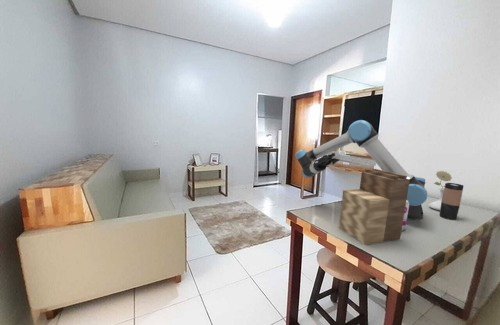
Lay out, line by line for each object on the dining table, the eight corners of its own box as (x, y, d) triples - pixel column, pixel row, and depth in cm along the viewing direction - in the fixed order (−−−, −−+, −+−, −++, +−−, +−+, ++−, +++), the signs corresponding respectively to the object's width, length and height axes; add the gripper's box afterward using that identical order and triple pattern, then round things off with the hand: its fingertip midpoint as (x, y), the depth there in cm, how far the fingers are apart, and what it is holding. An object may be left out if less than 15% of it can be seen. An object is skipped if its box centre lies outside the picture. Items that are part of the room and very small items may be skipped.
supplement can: (405, 233, 99) (410, 203, 97) (385, 228, 103) (389, 199, 101) (404, 226, 106) (408, 199, 104) (385, 222, 110) (389, 195, 108)
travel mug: (460, 221, 116) (467, 186, 112) (444, 219, 117) (451, 185, 114) (450, 215, 123) (457, 183, 120) (435, 214, 124) (441, 182, 121)
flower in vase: (457, 213, 127) (466, 174, 122) (439, 212, 127) (446, 173, 123) (438, 205, 139) (445, 169, 135) (421, 205, 140) (428, 169, 136)
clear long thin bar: (327, 156, 121) (328, 152, 120) (332, 156, 122) (332, 152, 121) (370, 166, 92) (370, 160, 92) (375, 166, 93) (376, 160, 93)
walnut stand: (338, 227, 103) (345, 169, 98) (370, 223, 108) (377, 168, 104) (365, 244, 88) (374, 177, 83) (399, 239, 93) (410, 175, 89)
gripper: (330, 171, 133) (356, 158, 112) (308, 172, 129) (331, 158, 108) (327, 160, 136) (352, 145, 115) (305, 160, 131) (328, 145, 110)
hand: (342, 151), depth 111 cm, fingers closed on clear long thin bar, 3 cm apart
